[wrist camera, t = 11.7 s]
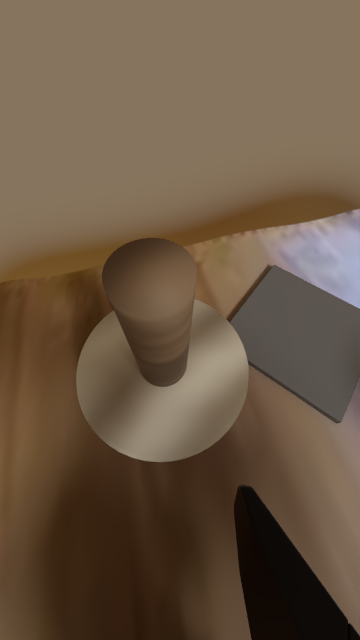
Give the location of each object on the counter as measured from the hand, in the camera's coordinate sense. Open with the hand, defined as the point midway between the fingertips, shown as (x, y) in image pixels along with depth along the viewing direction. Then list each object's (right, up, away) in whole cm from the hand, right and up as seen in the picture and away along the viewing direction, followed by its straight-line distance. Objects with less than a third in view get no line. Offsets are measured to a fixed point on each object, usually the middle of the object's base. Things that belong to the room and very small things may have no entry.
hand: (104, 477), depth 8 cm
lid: (+1, +1, +11) cm, 11 cm away
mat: (+15, +4, +18) cm, 24 cm away
